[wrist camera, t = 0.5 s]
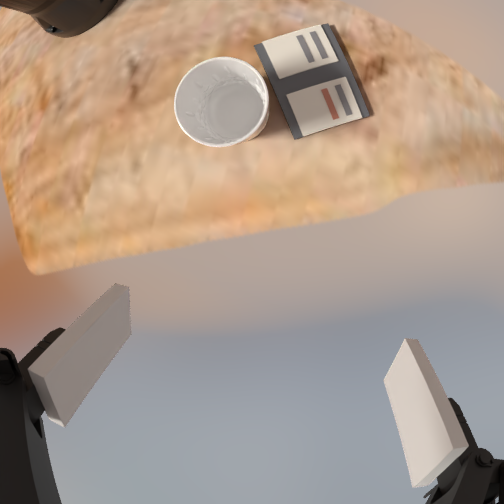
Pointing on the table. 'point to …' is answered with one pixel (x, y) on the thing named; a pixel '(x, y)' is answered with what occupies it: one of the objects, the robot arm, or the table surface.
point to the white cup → (222, 102)
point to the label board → (311, 80)
